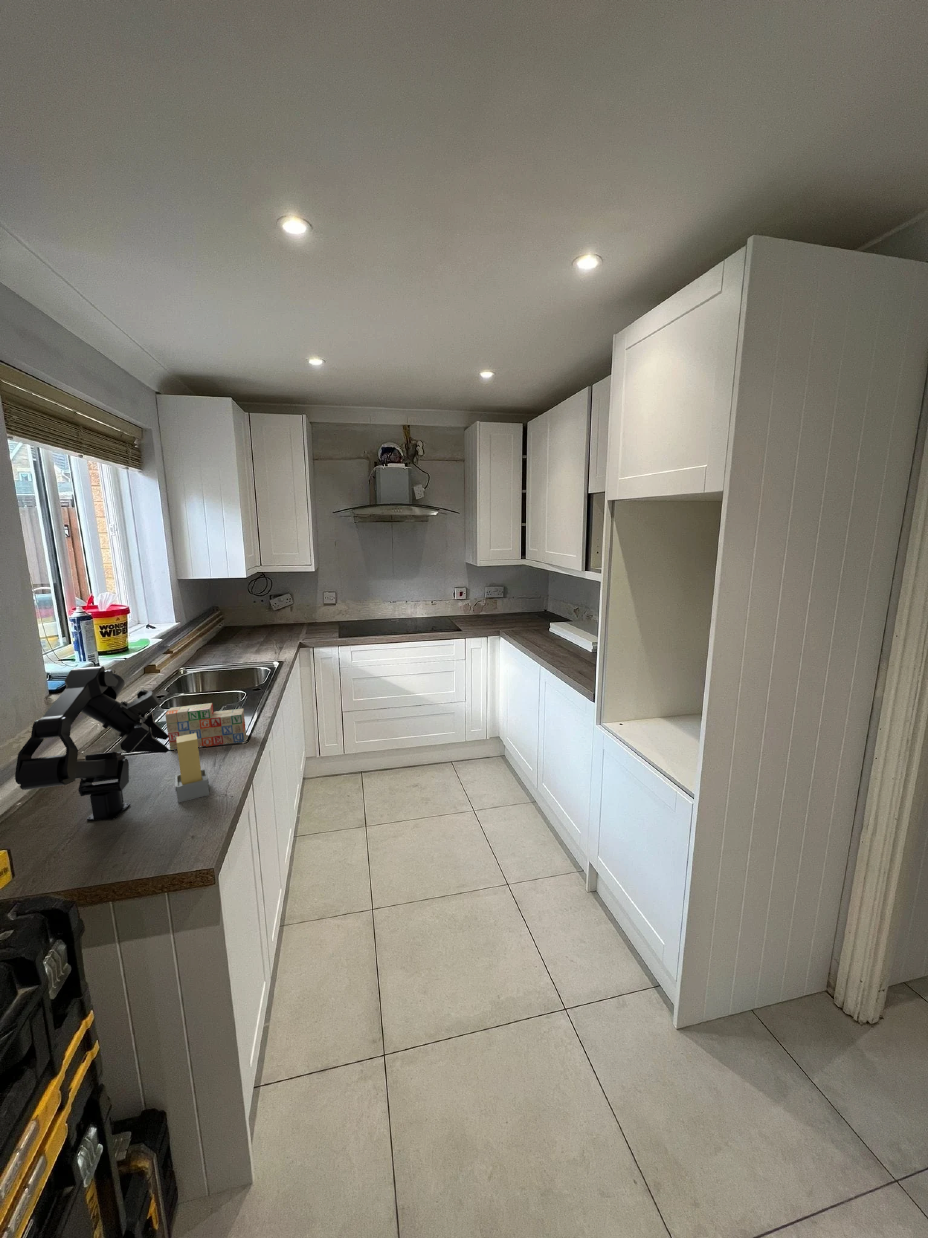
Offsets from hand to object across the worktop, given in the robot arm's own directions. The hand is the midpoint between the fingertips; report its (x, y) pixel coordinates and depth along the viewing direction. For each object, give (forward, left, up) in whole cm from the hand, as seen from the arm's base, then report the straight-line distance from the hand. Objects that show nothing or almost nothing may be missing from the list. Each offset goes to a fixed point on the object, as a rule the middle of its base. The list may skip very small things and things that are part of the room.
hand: (167, 744), depth 126 cm
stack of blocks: (+33, +5, -14) cm, 36 cm away
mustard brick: (0, -5, -11) cm, 12 cm away
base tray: (0, -5, -14) cm, 14 cm away
